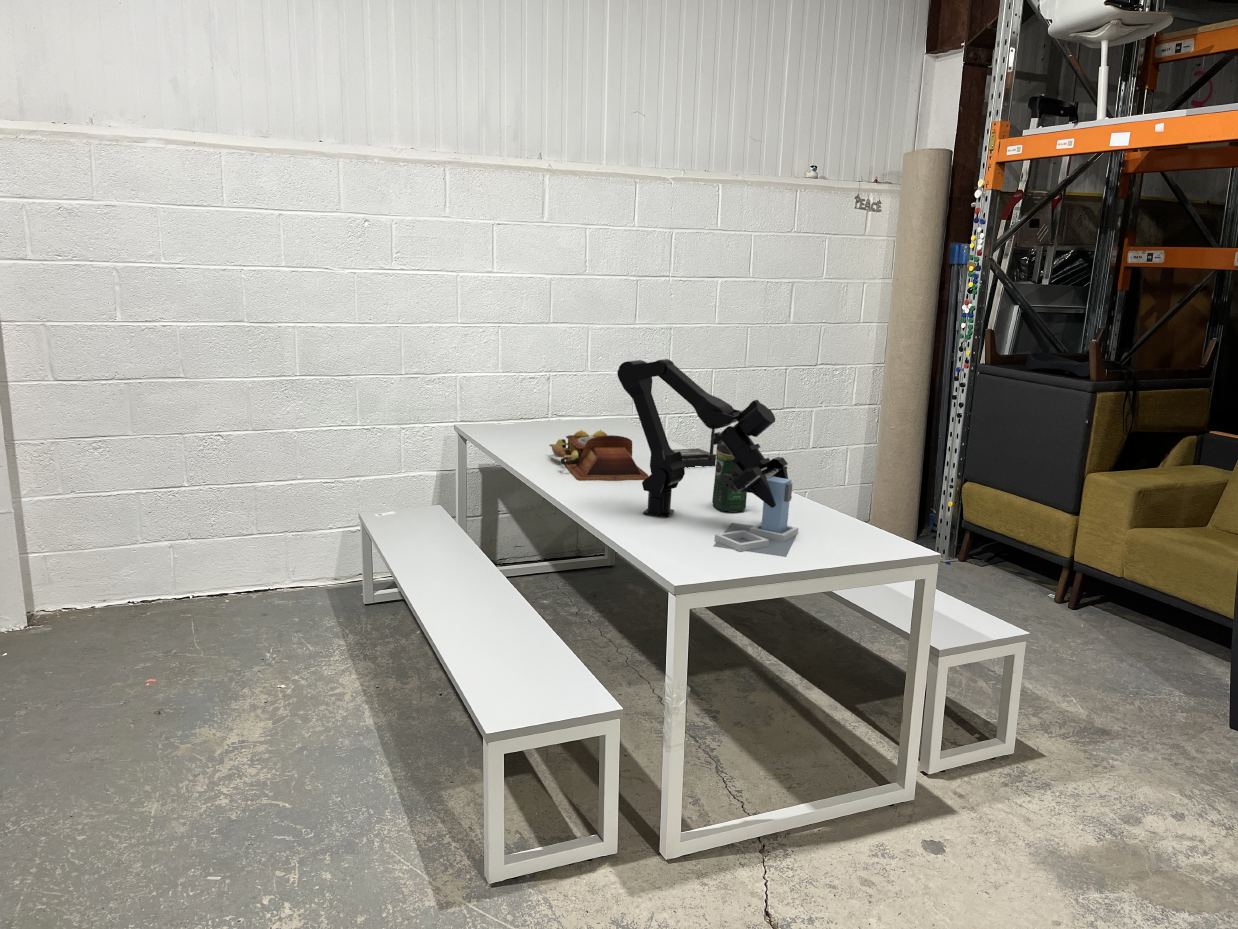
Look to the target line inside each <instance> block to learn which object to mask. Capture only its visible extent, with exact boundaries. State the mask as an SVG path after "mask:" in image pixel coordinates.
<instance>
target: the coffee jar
mask: <svg viewBox="0 0 1238 929" xmlns="http://www.w3.org/2000/svg"><path fill="white" fill-rule="evenodd" d="M715 455H716V464H715V472H714V473H715V474H714V483H713V492H712V500H711V501H712V502H711V503H712V505H713V506H714V507H715V508H716V509H718V510H720V511H726V512H729V513H738V512H743V511H745V510H746V509H747V508H746V507H747V496H748V492H741V491H738V492H737V493H734V492H733V491H732V490H730V489H728V490H726V489H725V486H723V483H722V481H721V477H722V476H723V475H724V474H731V471H733V470H734V468H735V466H734V465H733V463H732V462H733V461H732V460H734V459H735V458H734V457H733V456H732V454H731V453H730V451H729V450H728V449H727V447H726V446H725V445H724V443H723V442H722V443H720V444H716V453H715ZM744 489H745V487H744Z"/></svg>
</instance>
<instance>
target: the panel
mask: <svg viewBox="0 0 1238 929" xmlns="http://www.w3.org/2000/svg"><path fill="white" fill-rule="evenodd" d="M761 525H762V521H761V522H759V523H758V524H755V525H752V524H751V525H750V524H744V523H737V522H731V523H730V524H729V525H728V526H727V528H726V529H725V530H724V532H723V533H722V532H721V533H715V534H714V541H713V542H715V543H714V544H713V545H712V546H713V547H715V548H720V549H721V548H722V549H729V550H735V551H737V552H749V553H756V554H763V555H770V556H777V557H783V558H786V557H787V556H788V554H789V552H790V550H791V548H792V546H793V544H794V542H795V540H796V538H797V535H799V527H796V526H792V525H787V531H786V532H784V533H782V534H780V533H776V532H771V531H766V530H762V529H761Z"/></svg>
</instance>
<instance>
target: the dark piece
mask: <svg viewBox="0 0 1238 929" xmlns="http://www.w3.org/2000/svg"><path fill="white" fill-rule="evenodd" d="M715 433H716V429H711V434H710V447H709V451H706V450H704V449H701V448H698V447H697V448H681V449H680V448H679V449H678V448H675V449H672V450H673V451H674V452H679V451H680V453H681V456H682V460H683V463H684V464H685V465H686V467H694V468H696V467H695V466H709V467H716V453H715V454H714V448H715V447H714V446H715V445H714V444H713V441H714V434H715Z"/></svg>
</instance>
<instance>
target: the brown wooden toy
mask: <svg viewBox="0 0 1238 929" xmlns="http://www.w3.org/2000/svg"><path fill="white" fill-rule="evenodd" d="M565 437H566V439H567V440H566V439H563V438H561V439H558V440H557V441H556V443H550V444H548V446H549V447H551V450H552V452H553V454H554V455H555V456H556V457H560V458H561V459H560V463H561V464H562V465H564V467H566V469H567V470H568V471H569V472H570V473H571V474H572V475H573V477H575V478H576V480H577V481H583V482H584V481H607V482H620V481H621V482H622V481H644V480H645V479H646V478H648V477H649V476H650V475H649V474H648V473H647V472H646V471H644V470H643V469H642V468H641V467H639V466H638V465H637V464H636V461H635V460H634V459H633V441H632V439H631V438H628V437H626V436H621V435H614V434H613V435H611V434H607V433H606V432H605V431H604V430H602V429H599V430H598V431H595V432H594V433H593V434H592V435H590V434H589V433H587V432H586V431H584V430H582V429H580V430H578V431H576V432H575V433H573V434H572V435H571V434H570V435H569V434H568V435H565Z"/></svg>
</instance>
